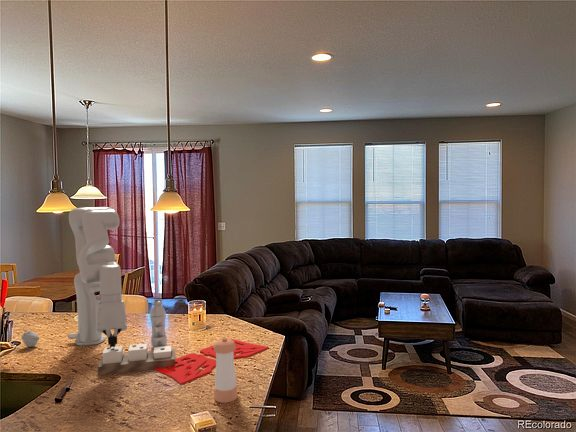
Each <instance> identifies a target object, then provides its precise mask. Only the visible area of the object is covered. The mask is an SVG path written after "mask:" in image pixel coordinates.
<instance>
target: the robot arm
mask: <svg viewBox="0 0 576 432" xmlns="http://www.w3.org/2000/svg"><path fill="white" fill-rule="evenodd" d="M68 223H69V226H70V229H71V230H72V234H73V236H74V241H75V257H76V263H77V266H78V269H79V273H77V274H75V276H74V278H73V283H74V290H75V295H76V305H77V306H76V307H77V310H76V311H77V329H78V331H77V332H76V333H68V334H67V339H69V340H74V344H75V345H76V346H80V347H81V346H82V347H83V346H93V345H98V344H101V343H103V342H104V341H106V339H107V344H108V345H109V347H110V348H111V347H116V346H117V344H118V335H119V334H120V333H121V332H122V331H126V330H127V329H128V324H127V311H126V305H125V300H124V299H123V298H122V297H123V295H122V293H123V292H122V291H123V290H122V272H121V271H122V269H121V266H120V265H119V263H118V262H116V254H115V250H114V248H113V246H111V245H109V243H110V238H109V234H108V230H109V231H110V230H117V229H118V228H119V226H120V215H119V213H118V212H117V210H115V209H113V208H111V207H108V206H98V207H97V206H96V207H93V206H91V207H90V206H89V207H77V208H74V209H71V210H69V213H68ZM97 292H99V295H96V294H95V293H97ZM111 330H113V333H112V331H111ZM106 337H107V338H106Z"/></svg>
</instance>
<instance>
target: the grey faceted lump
mask: <svg viewBox="0 0 576 432" xmlns="http://www.w3.org/2000/svg"><path fill="white" fill-rule="evenodd" d="M39 338H40V337H39V335H38V334H37V333H36V332H34V331H32V330H26V331H25V332H24V333H23V334H22V335H21V340H22V342H23V343H24V345H25V347H27V348H33V347H35V346H36V345H38V342H39V340H40V339H39Z"/></svg>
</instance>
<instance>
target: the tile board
mask: <svg viewBox="0 0 576 432" xmlns="http://www.w3.org/2000/svg"><path fill="white" fill-rule="evenodd" d="M147 352H148V357H147V360H139V361H129V357H128V352H127V353H123V361H122V362H119V363H110V364H103V356H101V359H100V360H99V363H98V366H97V376H105V375H112V374H113V375H114V374H123V373H130V372H131V373H132V372H141V371H142V372H143V371H150V370H155V367H162V368H165V369H167V368H166V366H173V365H175V359H176V349H175V348H171V357H168V358H158V359H154V350H147Z"/></svg>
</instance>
